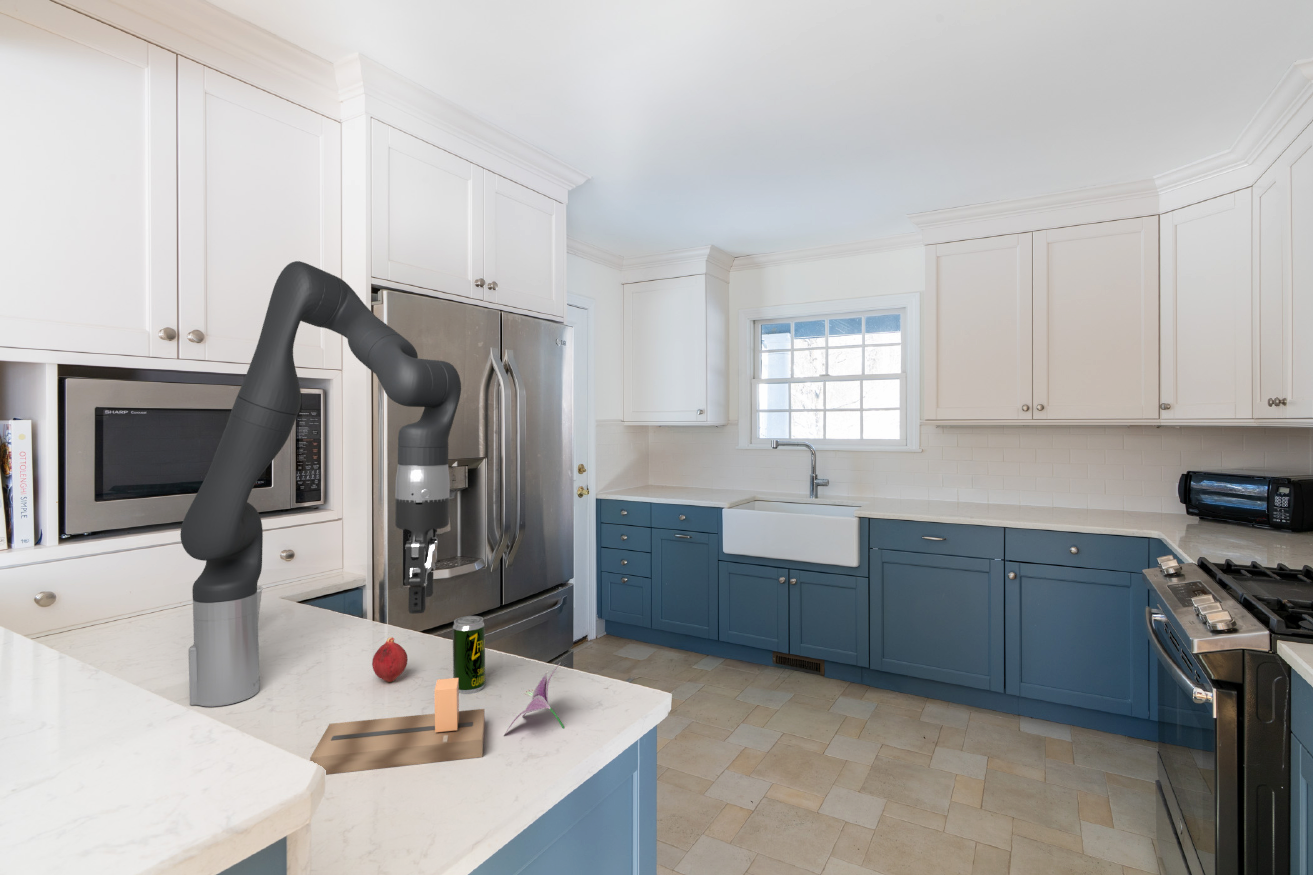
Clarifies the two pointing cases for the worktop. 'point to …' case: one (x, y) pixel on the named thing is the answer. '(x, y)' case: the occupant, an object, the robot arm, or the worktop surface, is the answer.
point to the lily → (539, 698)
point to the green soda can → (469, 653)
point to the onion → (389, 660)
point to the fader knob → (446, 704)
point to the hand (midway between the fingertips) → (421, 604)
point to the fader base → (398, 742)
